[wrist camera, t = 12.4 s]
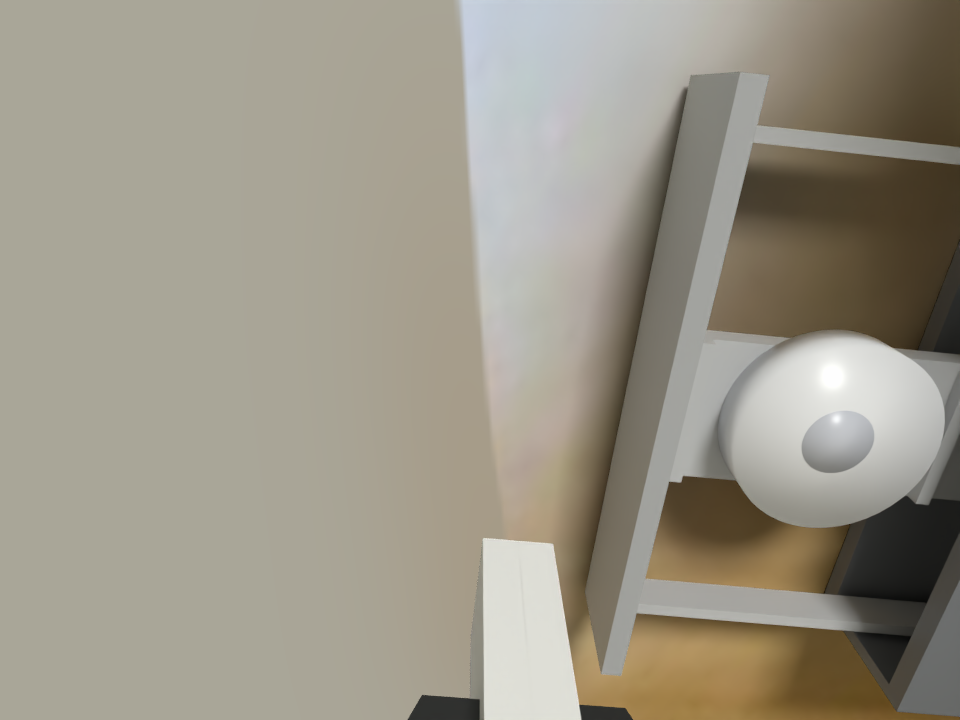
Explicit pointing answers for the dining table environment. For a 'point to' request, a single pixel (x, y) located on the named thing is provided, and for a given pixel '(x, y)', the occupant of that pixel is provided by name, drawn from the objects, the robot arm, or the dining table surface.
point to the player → (913, 569)
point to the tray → (721, 385)
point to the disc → (830, 428)
